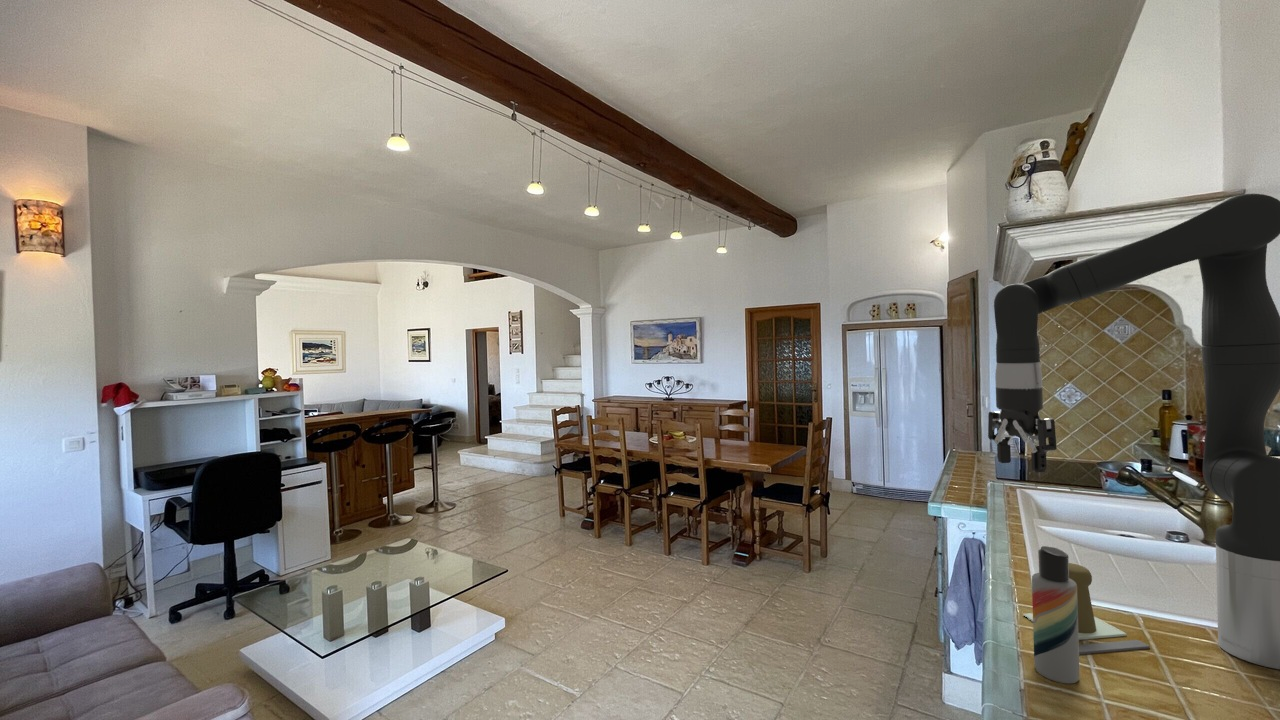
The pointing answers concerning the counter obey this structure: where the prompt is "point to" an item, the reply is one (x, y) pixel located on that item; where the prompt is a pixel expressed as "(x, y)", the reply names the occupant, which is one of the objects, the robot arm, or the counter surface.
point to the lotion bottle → (1055, 618)
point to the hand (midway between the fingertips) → (1020, 467)
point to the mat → (1101, 629)
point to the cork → (1083, 598)
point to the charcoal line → (1112, 646)
